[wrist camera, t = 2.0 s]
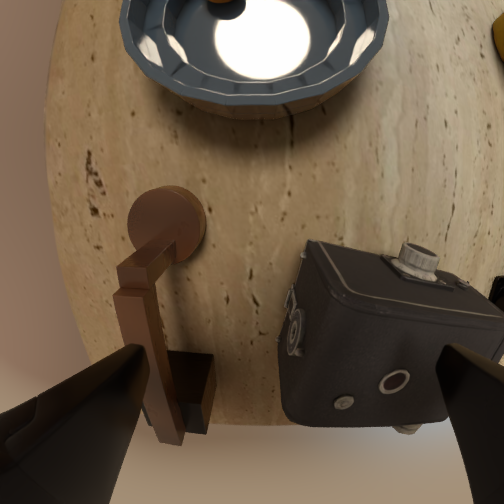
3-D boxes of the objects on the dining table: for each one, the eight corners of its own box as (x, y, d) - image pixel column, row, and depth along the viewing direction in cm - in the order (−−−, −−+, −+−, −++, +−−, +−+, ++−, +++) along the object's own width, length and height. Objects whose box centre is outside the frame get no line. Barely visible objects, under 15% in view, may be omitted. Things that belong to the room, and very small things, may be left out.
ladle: (217, 381, 24) (203, 449, 17) (164, 376, 25) (139, 438, 17) (205, 184, 19) (166, 200, 11) (136, 187, 19) (71, 206, 12)
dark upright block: (216, 385, 25) (206, 435, 19) (166, 380, 25) (148, 426, 19) (213, 353, 23) (200, 405, 17) (159, 348, 23) (135, 395, 18)
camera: (273, 329, 23) (423, 353, 22) (254, 438, 13) (464, 442, 11) (303, 204, 20) (467, 250, 19) (312, 253, 9) (552, 311, 8)
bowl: (365, 127, 17) (399, 118, 12) (147, 127, 18) (108, 119, 12) (348, -32, 12) (365, -68, 7) (162, -30, 13) (140, -63, 8)
